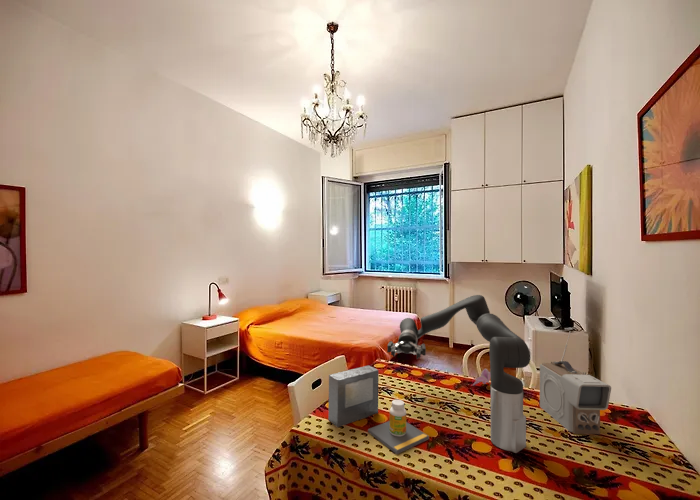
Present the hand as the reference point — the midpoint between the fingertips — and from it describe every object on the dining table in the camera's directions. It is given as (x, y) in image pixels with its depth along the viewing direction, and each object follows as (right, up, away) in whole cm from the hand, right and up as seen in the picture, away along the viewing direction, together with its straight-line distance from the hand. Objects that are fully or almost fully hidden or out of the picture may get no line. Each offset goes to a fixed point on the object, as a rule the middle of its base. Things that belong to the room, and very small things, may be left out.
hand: (405, 354), depth 114 cm
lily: (+41, -24, +28) cm, 55 cm away
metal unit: (-19, -23, +1) cm, 30 cm away
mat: (-4, -23, -11) cm, 26 cm away
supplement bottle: (-4, -22, -10) cm, 25 cm away
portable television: (+60, -24, 0) cm, 65 cm away
